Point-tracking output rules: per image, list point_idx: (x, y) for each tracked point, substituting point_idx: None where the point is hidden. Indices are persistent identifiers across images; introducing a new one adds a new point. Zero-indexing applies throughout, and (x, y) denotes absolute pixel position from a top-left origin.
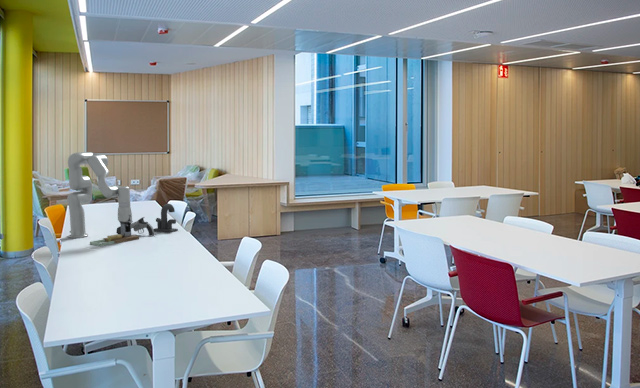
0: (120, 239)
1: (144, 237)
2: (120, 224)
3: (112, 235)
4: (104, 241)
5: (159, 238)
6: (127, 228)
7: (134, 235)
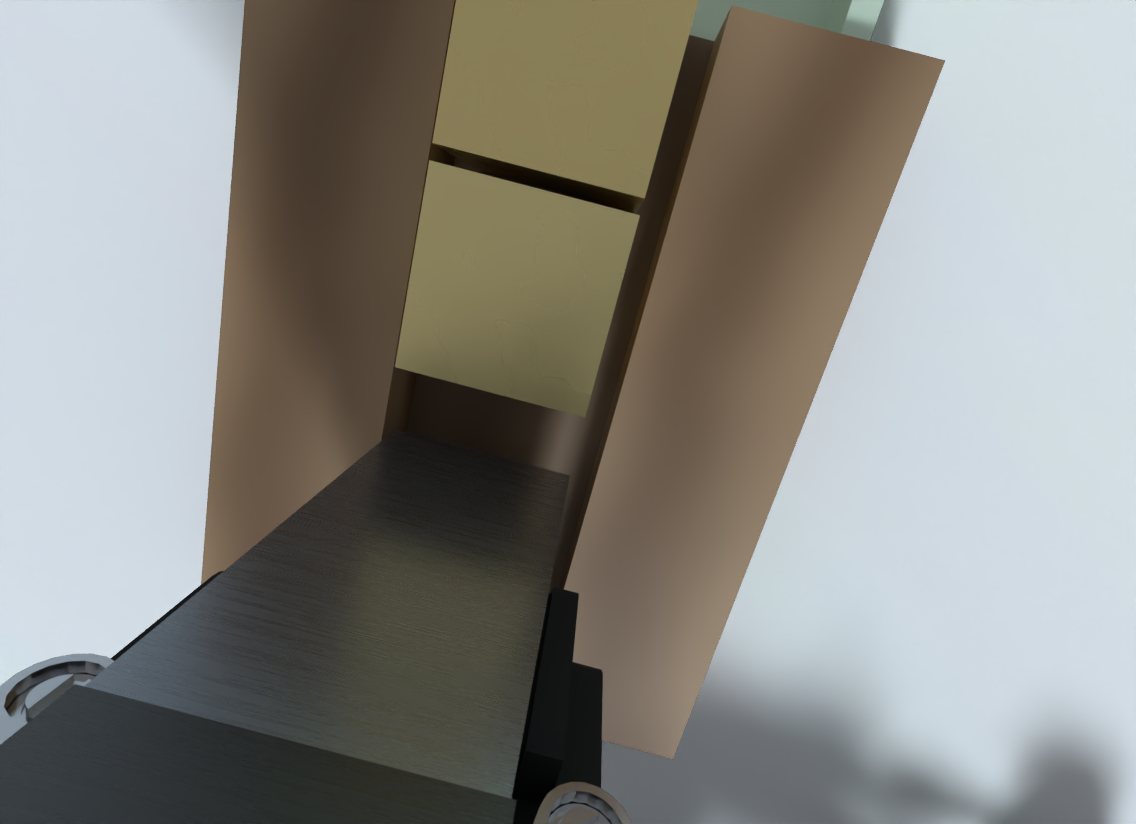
0: (249, 90)
1: None
2: (510, 759)
3: (609, 138)
4: None
5: None
6: None
7: None
